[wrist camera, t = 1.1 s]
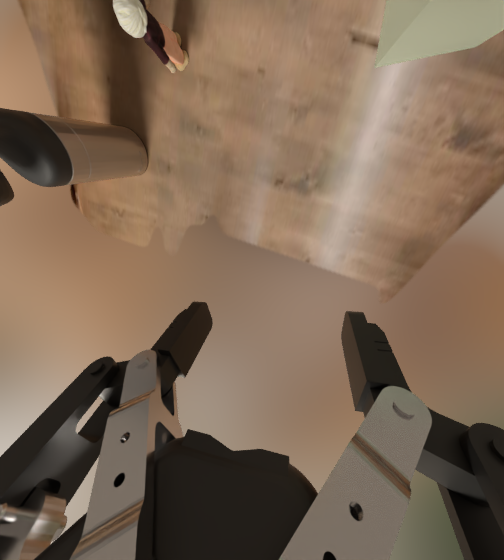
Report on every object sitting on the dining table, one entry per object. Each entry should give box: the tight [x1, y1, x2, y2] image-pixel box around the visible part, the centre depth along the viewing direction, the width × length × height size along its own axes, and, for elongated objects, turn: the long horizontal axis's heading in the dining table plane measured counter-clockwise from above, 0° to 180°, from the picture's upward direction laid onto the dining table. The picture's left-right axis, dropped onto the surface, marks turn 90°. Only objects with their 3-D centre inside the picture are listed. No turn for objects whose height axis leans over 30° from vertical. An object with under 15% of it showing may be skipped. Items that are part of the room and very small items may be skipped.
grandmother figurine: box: [113, 0, 189, 73], centre depth 26 cm, size 8×4×13 cm, turn 33°
